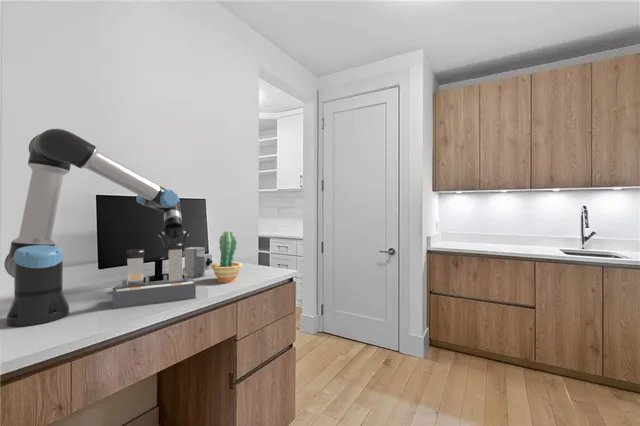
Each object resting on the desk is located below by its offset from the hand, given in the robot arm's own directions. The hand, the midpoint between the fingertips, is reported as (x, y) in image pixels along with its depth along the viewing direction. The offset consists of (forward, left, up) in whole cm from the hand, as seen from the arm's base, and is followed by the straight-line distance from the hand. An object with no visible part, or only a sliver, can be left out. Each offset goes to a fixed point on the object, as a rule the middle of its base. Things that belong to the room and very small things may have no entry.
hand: (176, 263), depth 128 cm
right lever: (0, -3, -6) cm, 7 cm away
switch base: (-7, -3, -13) cm, 16 cm away
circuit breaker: (+14, +35, -14) cm, 39 cm away
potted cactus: (+25, +17, -13) cm, 33 cm away
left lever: (-14, -3, -6) cm, 16 cm away
